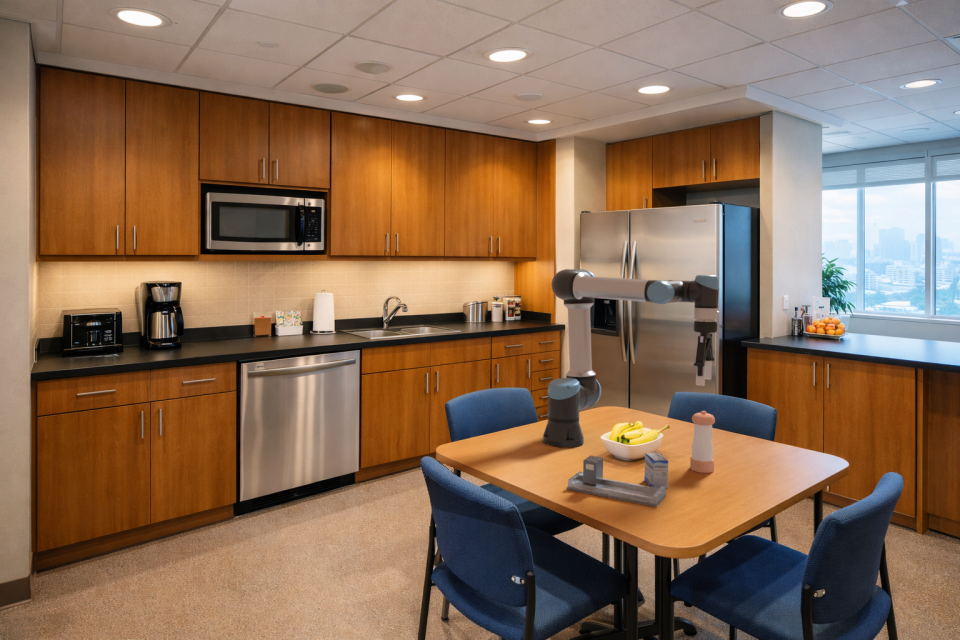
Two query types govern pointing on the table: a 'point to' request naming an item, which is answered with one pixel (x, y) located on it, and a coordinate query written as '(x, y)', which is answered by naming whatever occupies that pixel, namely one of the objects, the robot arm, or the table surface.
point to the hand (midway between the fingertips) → (703, 382)
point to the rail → (612, 485)
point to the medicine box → (656, 470)
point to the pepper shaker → (702, 443)
